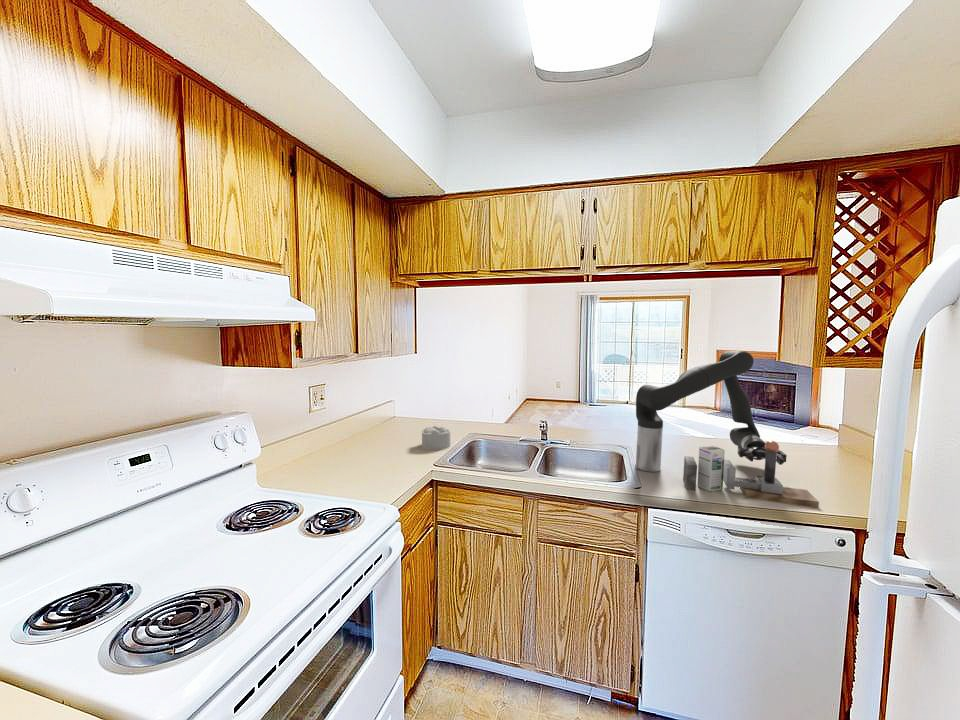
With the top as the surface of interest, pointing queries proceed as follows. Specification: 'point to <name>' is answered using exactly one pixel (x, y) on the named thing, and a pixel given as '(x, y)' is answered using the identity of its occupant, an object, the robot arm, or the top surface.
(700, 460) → the syrup box
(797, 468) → the top surface
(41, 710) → the top surface
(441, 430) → the lumpy-topped squat cylinder
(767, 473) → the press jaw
